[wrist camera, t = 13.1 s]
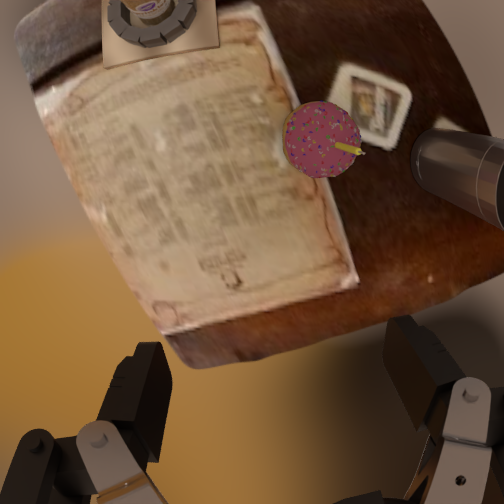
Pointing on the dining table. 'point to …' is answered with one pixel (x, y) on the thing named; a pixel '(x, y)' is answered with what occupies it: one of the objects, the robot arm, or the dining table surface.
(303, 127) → the cupcake
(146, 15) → the sprinkles bottle
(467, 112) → the dining table surface
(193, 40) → the ring holder
